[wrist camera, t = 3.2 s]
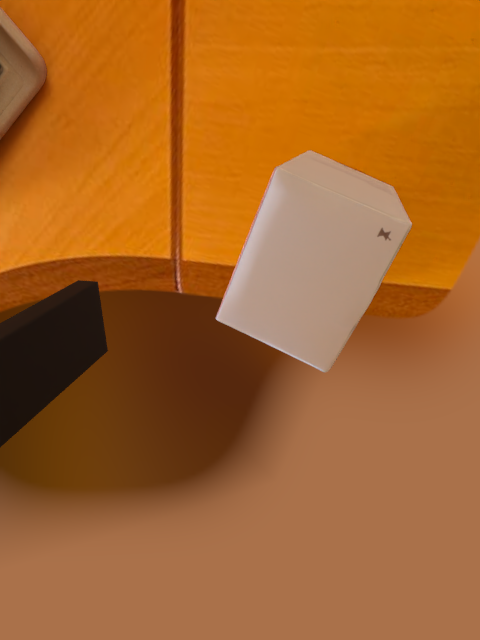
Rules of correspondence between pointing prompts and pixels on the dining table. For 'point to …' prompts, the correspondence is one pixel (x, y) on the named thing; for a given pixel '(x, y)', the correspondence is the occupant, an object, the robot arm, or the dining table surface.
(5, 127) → the wooden puzzle
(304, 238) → the small box
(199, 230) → the dining table surface
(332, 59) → the dining table surface
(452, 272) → the dining table surface
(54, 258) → the dining table surface
